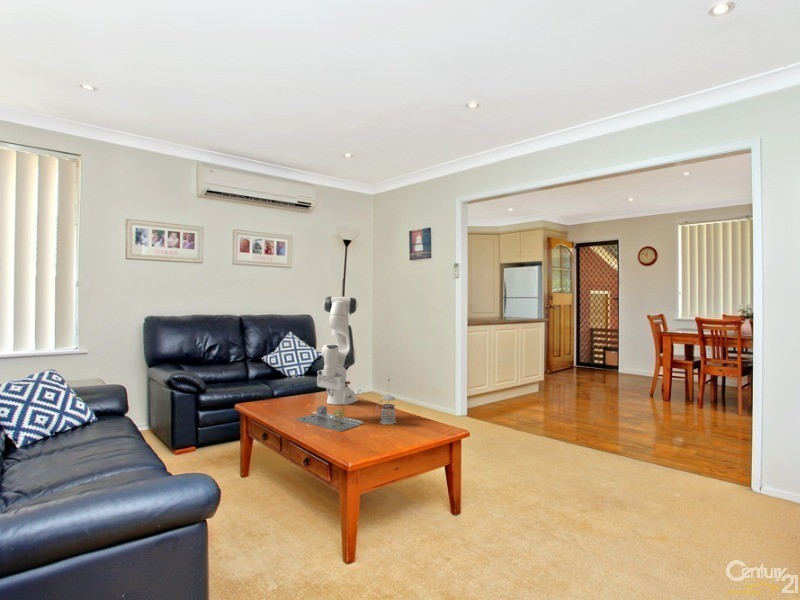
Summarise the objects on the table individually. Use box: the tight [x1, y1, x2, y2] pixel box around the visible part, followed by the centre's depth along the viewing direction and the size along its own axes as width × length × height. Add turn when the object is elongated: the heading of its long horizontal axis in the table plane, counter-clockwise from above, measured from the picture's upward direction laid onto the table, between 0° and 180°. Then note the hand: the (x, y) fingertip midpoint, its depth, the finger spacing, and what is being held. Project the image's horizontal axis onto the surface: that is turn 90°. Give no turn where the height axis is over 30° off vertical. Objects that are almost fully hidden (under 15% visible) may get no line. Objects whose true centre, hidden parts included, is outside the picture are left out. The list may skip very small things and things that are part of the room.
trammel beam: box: [312, 405, 364, 426], centre depth 265 cm, size 9×34×5 cm, turn 53°
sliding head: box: [330, 408, 345, 418], centre depth 265 cm, size 9×4×4 cm, turn 143°
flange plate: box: [295, 413, 360, 433], centre depth 259 cm, size 14×36×1 cm, turn 53°
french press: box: [376, 377, 397, 425], centre depth 262 cm, size 10×12×25 cm
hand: (330, 396), depth 271 cm, fingers closed
